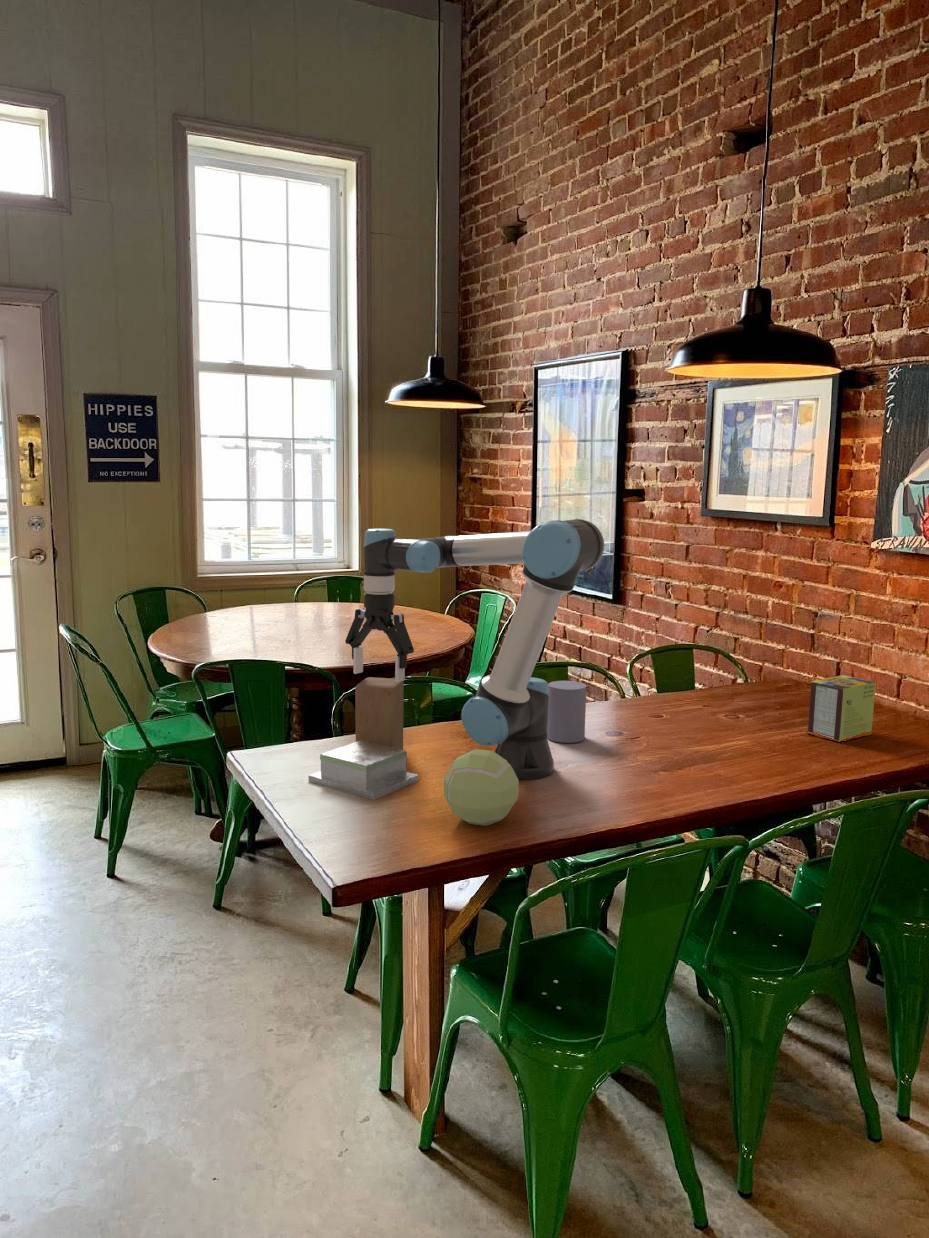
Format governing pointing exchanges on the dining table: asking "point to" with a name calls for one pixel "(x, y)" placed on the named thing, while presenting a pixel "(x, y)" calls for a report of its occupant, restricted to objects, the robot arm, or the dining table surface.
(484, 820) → the tennis ball
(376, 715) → the wooden block
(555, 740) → the container
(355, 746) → the stand
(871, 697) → the protein box
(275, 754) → the dining table surface
